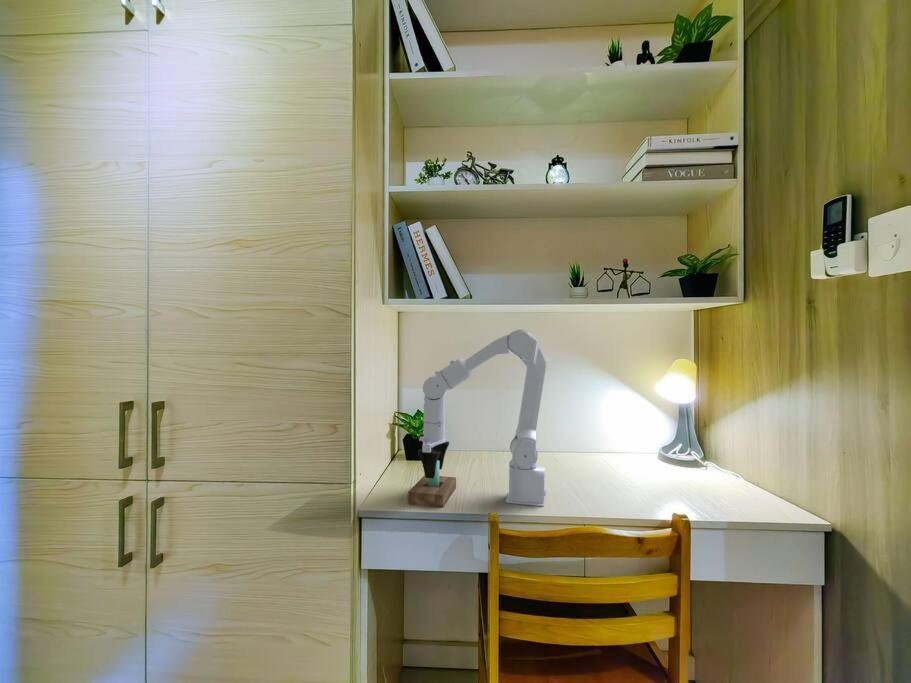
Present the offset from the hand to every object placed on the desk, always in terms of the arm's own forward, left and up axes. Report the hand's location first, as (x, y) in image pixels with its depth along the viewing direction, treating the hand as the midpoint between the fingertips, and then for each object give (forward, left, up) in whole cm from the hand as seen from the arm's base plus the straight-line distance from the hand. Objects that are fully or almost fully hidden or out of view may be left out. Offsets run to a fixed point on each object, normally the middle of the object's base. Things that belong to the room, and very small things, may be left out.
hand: (433, 473), depth 111 cm
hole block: (0, 0, -6) cm, 6 cm away
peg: (0, 0, -6) cm, 6 cm away
